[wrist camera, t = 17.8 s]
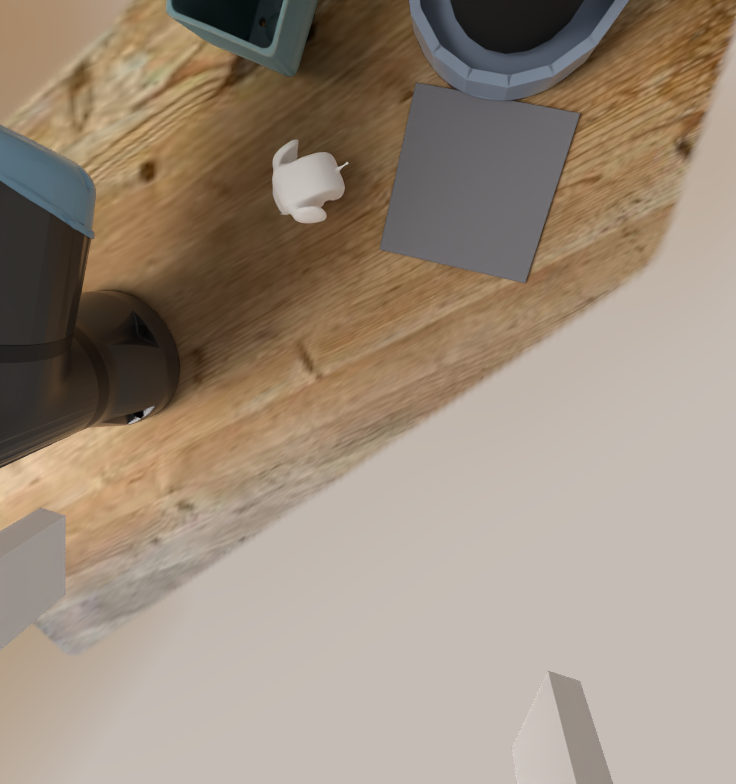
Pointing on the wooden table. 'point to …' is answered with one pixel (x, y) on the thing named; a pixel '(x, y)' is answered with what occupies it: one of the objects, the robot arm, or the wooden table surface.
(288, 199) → the elephant figurine
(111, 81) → the wooden table surface
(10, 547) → the robot arm
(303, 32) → the flower pot
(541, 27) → the coffee jar
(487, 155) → the mat
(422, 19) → the bowl
